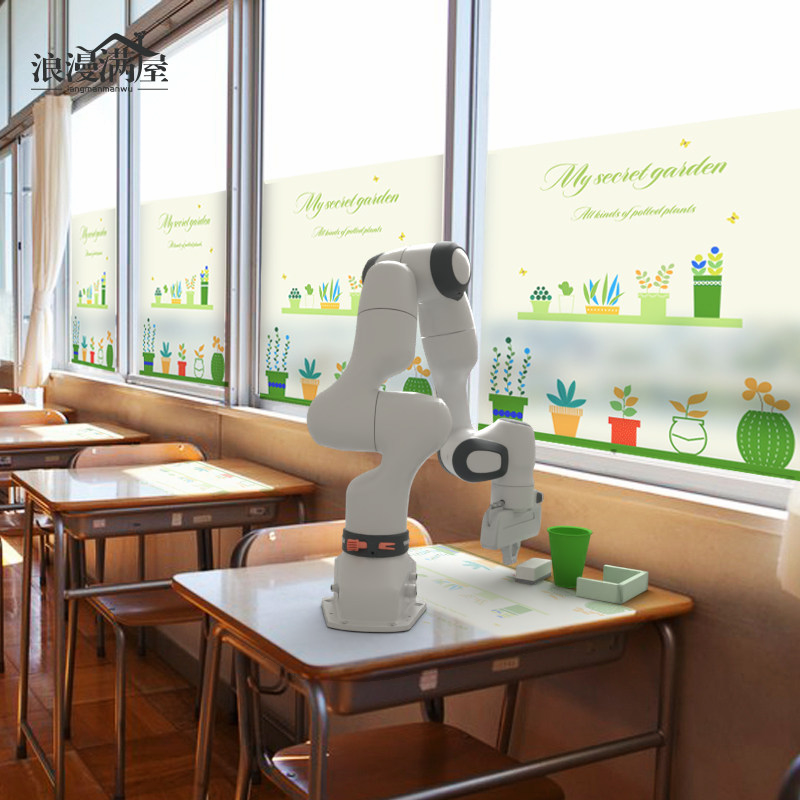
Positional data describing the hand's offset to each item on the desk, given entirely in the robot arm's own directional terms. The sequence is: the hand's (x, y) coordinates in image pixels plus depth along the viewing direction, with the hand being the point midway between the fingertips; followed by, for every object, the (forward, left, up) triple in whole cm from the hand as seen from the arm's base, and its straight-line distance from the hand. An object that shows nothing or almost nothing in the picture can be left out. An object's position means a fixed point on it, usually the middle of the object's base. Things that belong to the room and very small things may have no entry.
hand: (509, 563), depth 215 cm
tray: (-12, -19, -2) cm, 23 cm away
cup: (-7, -11, -2) cm, 13 cm away
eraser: (-3, -5, -2) cm, 6 cm away
